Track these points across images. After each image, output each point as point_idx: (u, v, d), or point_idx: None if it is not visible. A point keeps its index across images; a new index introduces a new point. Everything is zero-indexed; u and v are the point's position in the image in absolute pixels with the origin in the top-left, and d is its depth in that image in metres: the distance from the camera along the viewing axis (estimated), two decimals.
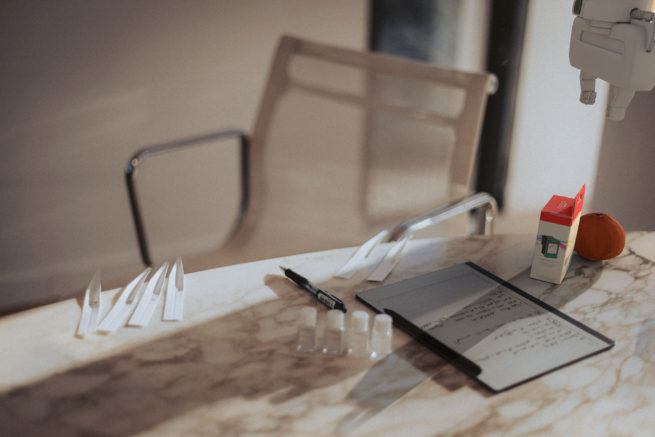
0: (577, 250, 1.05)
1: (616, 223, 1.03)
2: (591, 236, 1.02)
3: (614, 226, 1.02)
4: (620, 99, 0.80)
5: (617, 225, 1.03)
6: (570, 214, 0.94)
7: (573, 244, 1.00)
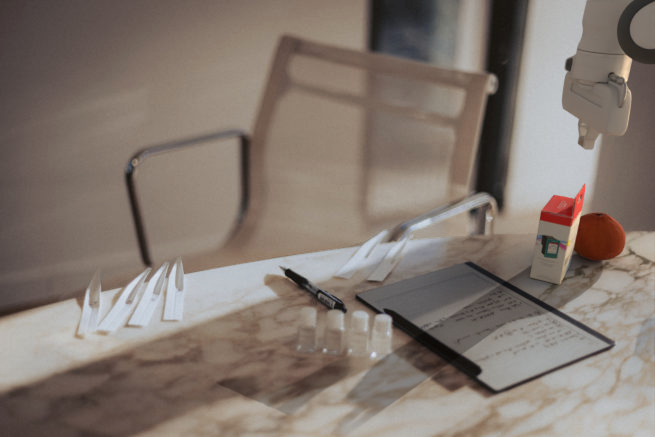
0: (577, 250, 1.05)
1: (616, 223, 1.03)
2: (591, 236, 1.02)
3: (614, 226, 1.02)
4: (590, 134, 1.07)
5: (617, 225, 1.03)
6: (570, 214, 0.94)
7: (573, 244, 1.00)
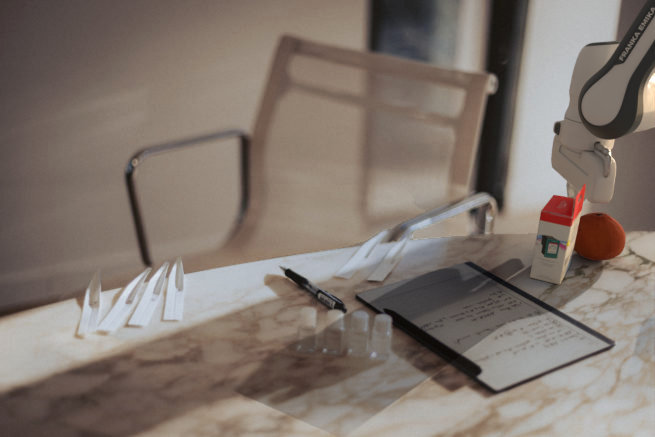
0: (577, 250, 1.05)
1: (616, 223, 1.03)
2: (591, 236, 1.02)
3: (614, 226, 1.02)
4: None
5: (617, 225, 1.03)
6: (570, 214, 0.94)
7: (573, 244, 1.00)
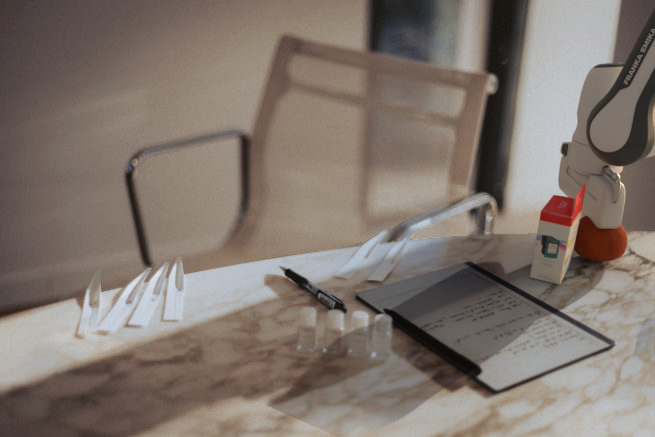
0: (579, 252, 1.04)
1: None
2: (594, 238, 1.01)
3: (617, 228, 1.02)
4: None
5: (619, 226, 1.02)
6: (570, 214, 0.94)
7: (573, 244, 1.00)
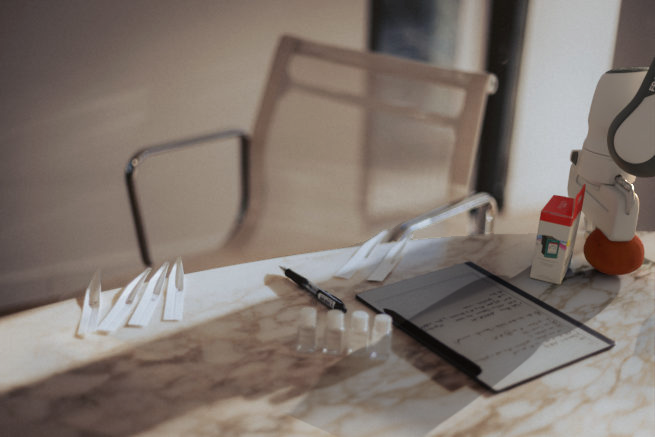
0: (597, 266, 0.99)
1: (635, 235, 0.98)
2: (614, 251, 0.97)
3: (635, 239, 0.98)
4: None
5: (636, 238, 0.98)
6: (570, 214, 0.94)
7: (573, 244, 1.00)
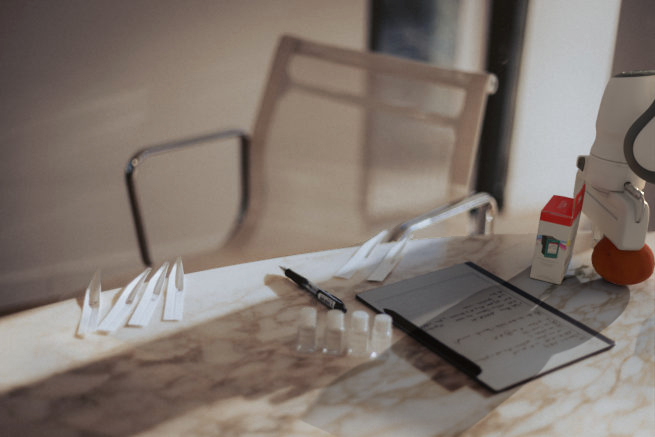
0: (606, 276, 0.96)
1: (645, 244, 0.95)
2: (624, 261, 0.94)
3: (645, 248, 0.95)
4: None
5: (646, 247, 0.95)
6: (570, 214, 0.94)
7: (573, 244, 1.00)
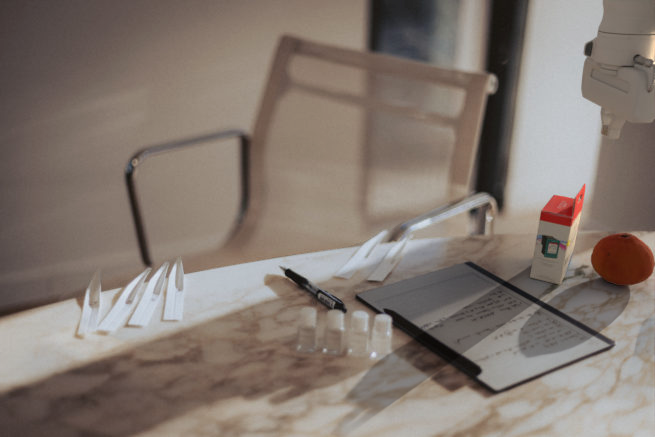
0: (606, 276, 0.96)
1: (644, 244, 0.96)
2: (623, 261, 0.94)
3: (644, 248, 0.95)
4: (615, 122, 1.00)
5: (646, 246, 0.95)
6: (570, 214, 0.94)
7: (573, 244, 1.00)
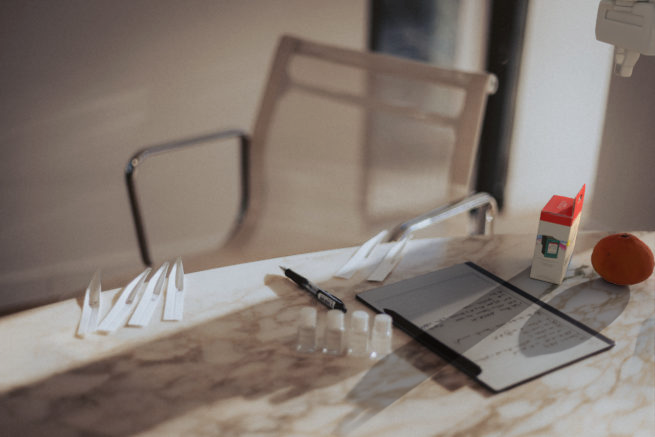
0: (606, 276, 0.96)
1: (644, 244, 0.96)
2: (623, 261, 0.94)
3: (644, 248, 0.95)
4: (628, 59, 1.03)
5: (646, 246, 0.95)
6: (570, 214, 0.94)
7: (573, 244, 1.00)
